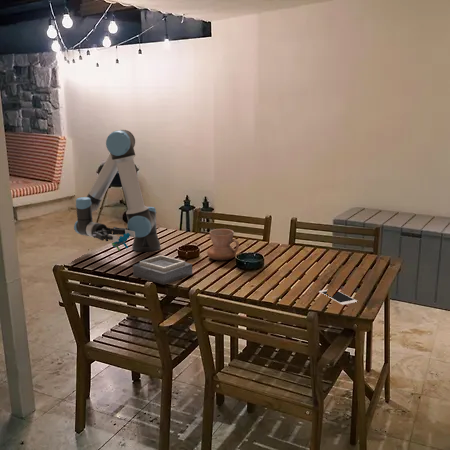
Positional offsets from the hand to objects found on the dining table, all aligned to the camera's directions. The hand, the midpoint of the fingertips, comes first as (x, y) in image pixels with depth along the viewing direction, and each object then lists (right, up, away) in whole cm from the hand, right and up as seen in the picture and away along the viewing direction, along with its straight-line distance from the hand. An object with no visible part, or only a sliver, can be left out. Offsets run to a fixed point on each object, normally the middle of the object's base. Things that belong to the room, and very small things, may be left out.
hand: (126, 236), depth 236 cm
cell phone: (+92, -24, -36) cm, 102 cm away
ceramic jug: (+46, -12, +16) cm, 50 cm away
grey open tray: (+18, -17, -8) cm, 27 cm away
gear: (-3, -6, +3) cm, 7 cm away
